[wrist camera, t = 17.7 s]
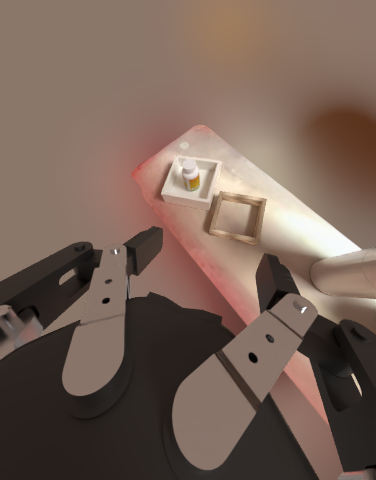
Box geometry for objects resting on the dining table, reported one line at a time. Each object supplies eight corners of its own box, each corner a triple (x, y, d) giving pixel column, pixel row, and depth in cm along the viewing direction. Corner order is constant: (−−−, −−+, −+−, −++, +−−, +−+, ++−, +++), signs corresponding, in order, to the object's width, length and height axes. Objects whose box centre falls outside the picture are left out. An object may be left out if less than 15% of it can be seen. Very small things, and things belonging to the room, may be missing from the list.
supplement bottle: (202, 181, 52) (201, 158, 42) (196, 194, 50) (194, 173, 41) (188, 177, 53) (184, 154, 44) (182, 190, 52) (176, 169, 42)
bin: (220, 172, 53) (221, 160, 48) (209, 210, 49) (209, 202, 44) (178, 166, 56) (175, 155, 52) (165, 202, 52) (160, 193, 47)
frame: (263, 204, 47) (266, 198, 44) (255, 245, 43) (258, 242, 41) (219, 196, 50) (220, 191, 47) (209, 234, 46) (209, 230, 44)
